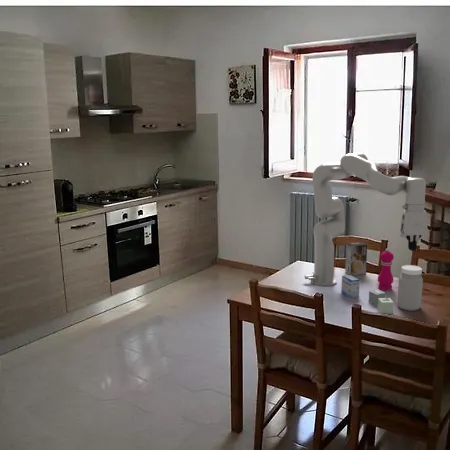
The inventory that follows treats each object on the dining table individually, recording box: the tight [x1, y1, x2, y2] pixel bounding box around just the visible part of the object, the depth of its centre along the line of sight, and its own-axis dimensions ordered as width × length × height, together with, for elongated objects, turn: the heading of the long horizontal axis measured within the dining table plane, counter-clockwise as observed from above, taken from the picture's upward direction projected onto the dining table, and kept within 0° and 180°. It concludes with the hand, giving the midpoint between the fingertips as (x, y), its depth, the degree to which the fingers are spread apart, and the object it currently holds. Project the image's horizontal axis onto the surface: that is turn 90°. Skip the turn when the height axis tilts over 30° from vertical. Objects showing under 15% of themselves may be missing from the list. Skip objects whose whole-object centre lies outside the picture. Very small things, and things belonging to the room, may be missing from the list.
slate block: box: [368, 288, 387, 306], centre depth 223 cm, size 5×5×5 cm
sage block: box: [377, 297, 395, 314], centre depth 213 cm, size 5×5×5 cm
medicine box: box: [340, 274, 361, 299], centre depth 232 cm, size 8×4×9 cm, turn 23°
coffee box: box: [345, 241, 368, 276], centre depth 262 cm, size 9×6×16 cm
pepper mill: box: [377, 248, 395, 291], centre depth 239 cm, size 7×7×20 cm
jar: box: [396, 264, 424, 312], centre depth 215 cm, size 10×10×18 cm
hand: (412, 249), depth 212 cm, fingers closed
